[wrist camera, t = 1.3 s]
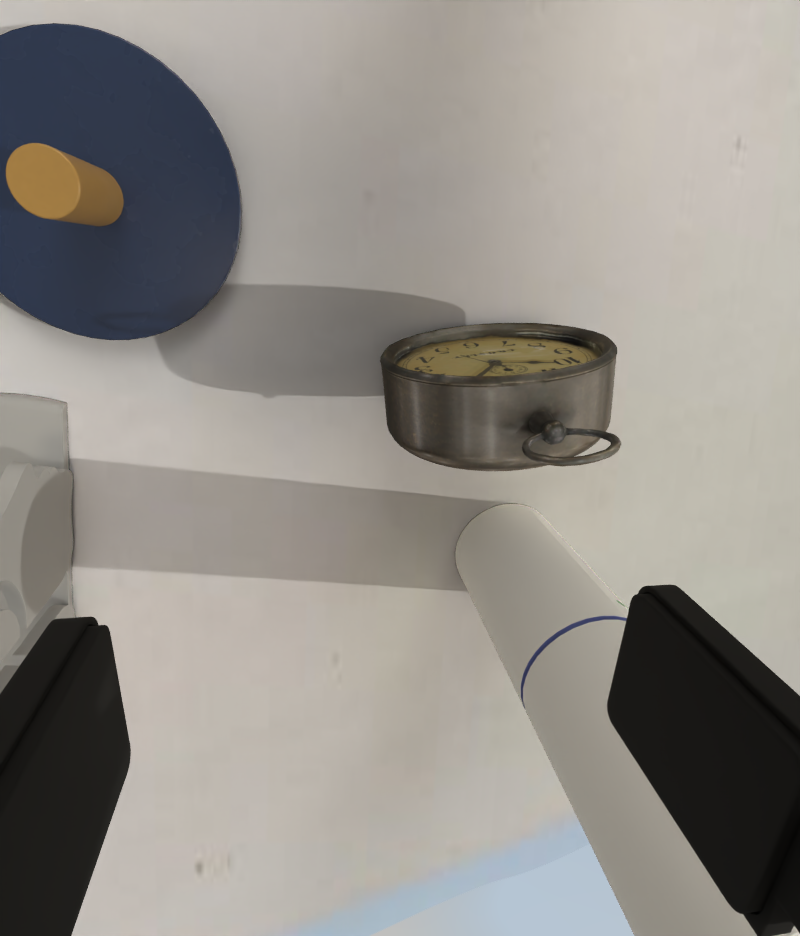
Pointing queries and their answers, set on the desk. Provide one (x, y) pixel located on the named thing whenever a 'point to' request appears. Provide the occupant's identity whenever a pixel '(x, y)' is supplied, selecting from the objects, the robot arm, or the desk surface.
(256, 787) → the desk surface
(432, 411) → the alarm clock
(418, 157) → the desk surface
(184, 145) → the tin lid
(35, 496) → the grey metal bookend
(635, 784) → the cylindrical container
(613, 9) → the desk surface
